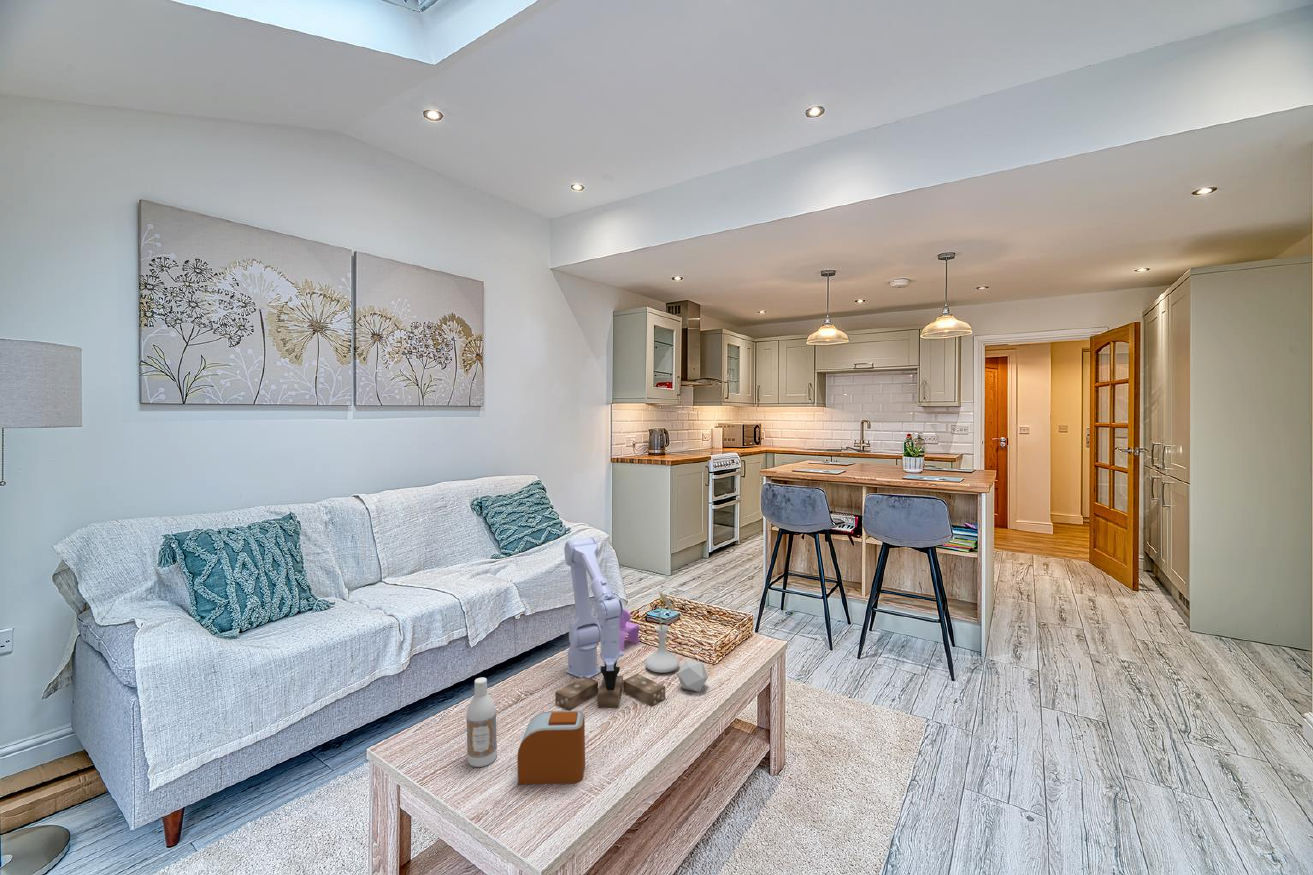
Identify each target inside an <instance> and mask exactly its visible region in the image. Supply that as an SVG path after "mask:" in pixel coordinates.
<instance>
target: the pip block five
mask: <svg viewBox="0 0 1313 875" xmlns="http://www.w3.org/2000/svg"><path fill="white" fill-rule="evenodd" d="M622 693H624V694H626V695H628V696H629V697H632V698H633V699H636V700H637V701H639V702H641V703H643V704H645V705H648V706H650V707H653V706H655V705H657V704H659V703H660V702H662V701H664V700H665V699H666V686H665V685H662V684H661V683H659V682H656V681H654V680H652V679H650V678H648V677H645V676H643V675H641V674H639V673H636V674H634V675H633V674H632V676H629V677H627V678H625V679H623V690H622Z"/></svg>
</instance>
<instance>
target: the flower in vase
mask: <svg viewBox="0 0 1313 875" xmlns="http://www.w3.org/2000/svg"><path fill="white" fill-rule="evenodd" d="M658 595H659V596H660V598H661V600H662V605H661V608H660V609H659V612H657V615H658V619H659V624H658V625H656V626H654V630H655V631H656V633H657V637H658V648H657V649H656V651H655V652H652V654H650V655H649V656H648V657H647V658H646V660H645V666H646V668H647V669H648V670H649V671H651V672H655V673H669V672H673V671H675V670H677V668H679V666H680V661H679V659H678V658H677V657H676V655H675V654H673V653H671V652H670V651H669V650H668V649H667V646H666V638H667V633H668V631H669V630H670V626H669V625H667V624H662V623H664V622H665V621H667V619H664V620H662V617H661V612H662V610H663V608H664V605H665V606H666V607H667V608H668V610H670V612H674V611H675V609H674V606H673V605H672V603H671V600H670V599H669V598H667V595H666V594H665V593H663V591H659V593H658Z"/></svg>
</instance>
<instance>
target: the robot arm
mask: <svg viewBox="0 0 1313 875" xmlns="http://www.w3.org/2000/svg"><path fill="white" fill-rule="evenodd" d="M563 549H564V558H565V560H564V561H565V563H566V566H568V567H570V571H571V579H572V589H573V596H574V597H573V598H574V605H575V613H576V614H575V615H576V616H575V617H574V619H573V620H572V621H571V622H570V623H569V624H568V625H569V626H568V640H569V644H570V645H569V648H568V649H567V669H566V671H565V672H566V673H567V674H569V675H573V676H574V677H577V678H581V677H583V676H585V677H587V678H590V679H592V678H594V676H596V675H598V674H600V673H601V674H602V676H603V677H604V679H605V684H606V689H607V691H609V690H614V688H615V683H616V677H617V676H619V672H620V671H621V666H617V663H618V660H619V659H620V657H624V656H625V653H624V652H623V651H620V630H619V617H621V616H622V614H623V608H624V607H623V606H624V605H623V602H622V600H621V598H620V597H618V595H617V594H615V593H614V590H613V588H612V586H611V584H610V582H609V579H608V578H606V577H605V576H603V573H602V570H601V567H600V564H599V560H598V558H597V557H598V554H599V545H598V541H597V540H596V538H595V537H593V536H591V537H586V538H580V539H579V538H578V539H573V540H570V539H568V540H566V542H565V544H564V548H563ZM587 575H588V576H589V578H590V580H591V584H590V590H591V592H592V595H593V597H594V599H595V603H596V605H597V606H596V614H597V616H594V615H593V614H592V608H591V600H590V594H589V593H590V592H589V585H588V576H587ZM599 643H600V644H599ZM599 645H600V652H599V657H600V659H601V660H602V661H603V664H604V665H600V667H598V652H597V651H598V649H597V648H598V646H599Z"/></svg>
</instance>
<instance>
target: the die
mask: <svg viewBox="0 0 1313 875" xmlns="http://www.w3.org/2000/svg"><path fill="white" fill-rule="evenodd" d="M676 675H677V678H678V680H679V683H680V684H681V688H682V690H688V691H692V692H698V693H700V692H701V690H702V688H703V686H704V685H705V683H706V682H707V680H708V678H709V677H708V674H707V671H706V669H705V666H704V664H703V662H702V661H697V660H693V659H692V660H691V659H685V661H684V662H683V663H682V665H681V667H680V668H679V669H678V671H677V673H676Z"/></svg>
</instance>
